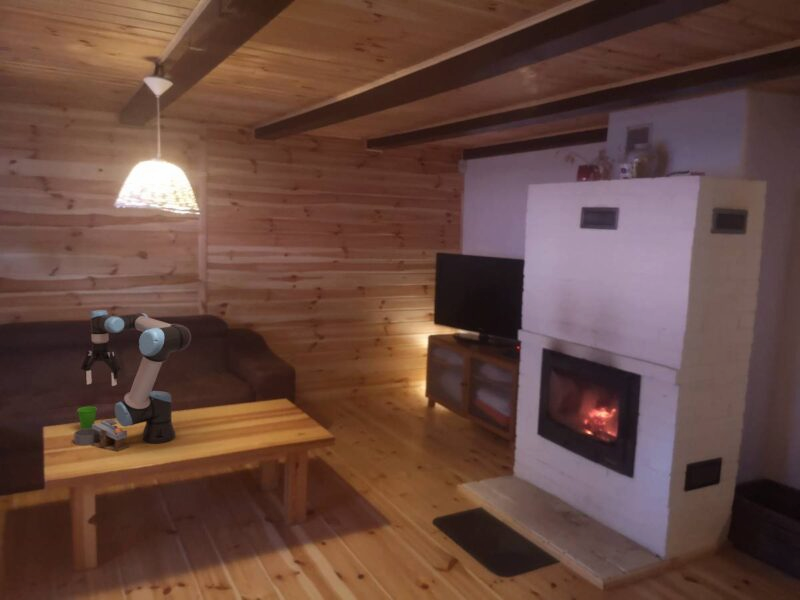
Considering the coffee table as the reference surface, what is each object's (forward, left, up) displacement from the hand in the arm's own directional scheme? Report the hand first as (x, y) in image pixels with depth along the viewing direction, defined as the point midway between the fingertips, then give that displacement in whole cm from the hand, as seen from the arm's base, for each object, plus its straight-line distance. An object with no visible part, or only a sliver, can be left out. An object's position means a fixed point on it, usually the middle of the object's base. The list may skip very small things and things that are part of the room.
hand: (101, 384), depth 310 cm
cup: (+9, +1, -25) cm, 26 cm away
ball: (-23, +12, -16) cm, 31 cm away
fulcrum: (-17, +12, -25) cm, 32 cm away
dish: (-4, +12, -25) cm, 28 cm away
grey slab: (-17, +9, -18) cm, 26 cm away
